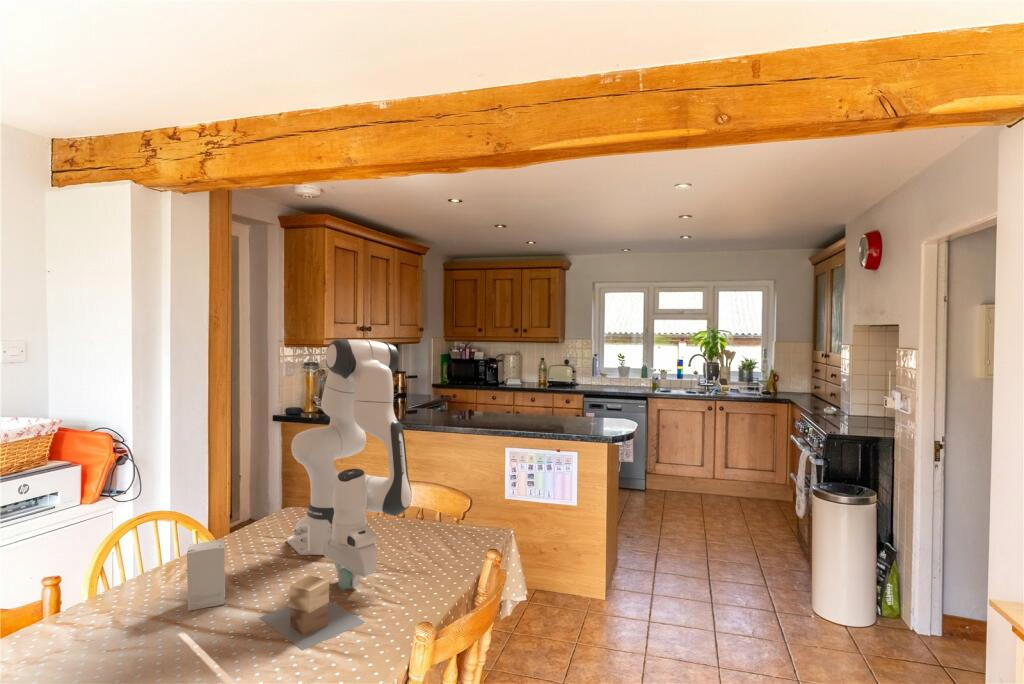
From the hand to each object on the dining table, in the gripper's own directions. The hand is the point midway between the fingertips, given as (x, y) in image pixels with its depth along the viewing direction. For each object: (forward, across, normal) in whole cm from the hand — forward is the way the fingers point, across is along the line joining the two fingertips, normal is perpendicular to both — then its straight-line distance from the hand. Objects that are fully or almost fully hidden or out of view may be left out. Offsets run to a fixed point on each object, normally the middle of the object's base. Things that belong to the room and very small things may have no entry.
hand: (347, 582), depth 149 cm
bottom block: (+1, +12, -18) cm, 22 cm away
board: (+2, +10, -16) cm, 19 cm away
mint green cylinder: (+2, 0, 0) cm, 2 cm away
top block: (-4, +12, -18) cm, 22 cm away
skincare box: (+2, -18, -29) cm, 34 cm away
